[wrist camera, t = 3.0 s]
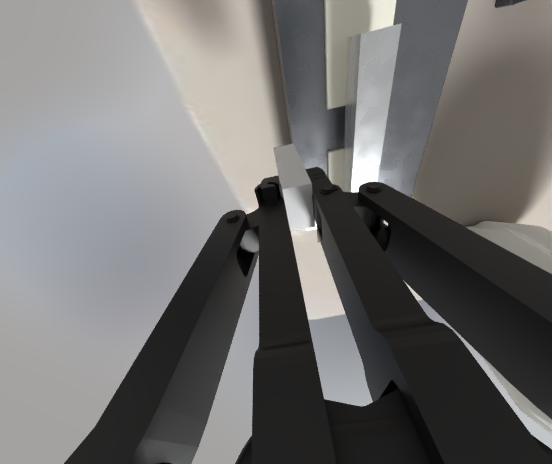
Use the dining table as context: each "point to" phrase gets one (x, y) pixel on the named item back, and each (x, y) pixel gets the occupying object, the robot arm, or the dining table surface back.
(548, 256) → the vase
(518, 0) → the disk drive
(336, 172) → the label
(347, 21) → the label
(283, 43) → the plate
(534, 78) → the dining table surface
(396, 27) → the gray rectangular bar
